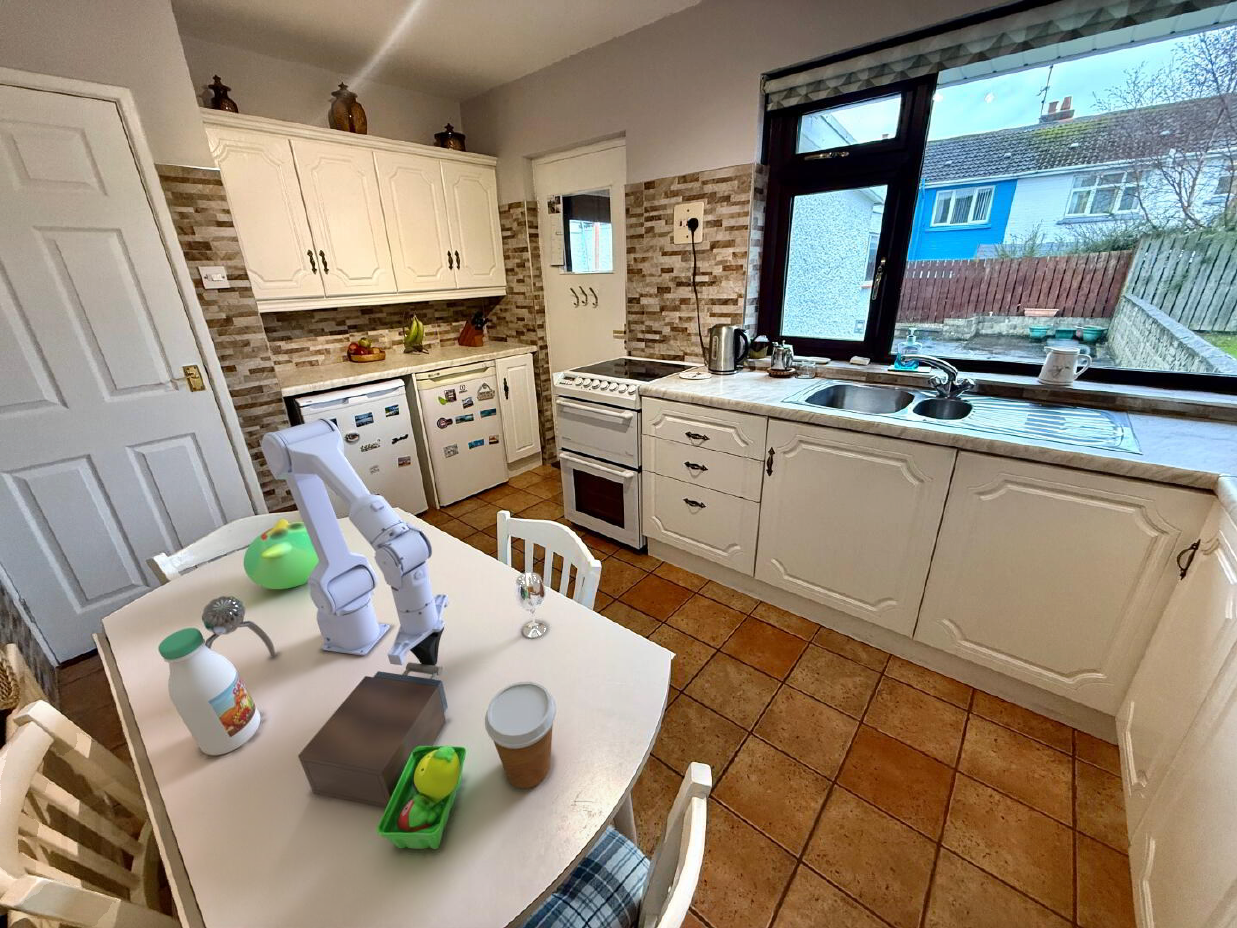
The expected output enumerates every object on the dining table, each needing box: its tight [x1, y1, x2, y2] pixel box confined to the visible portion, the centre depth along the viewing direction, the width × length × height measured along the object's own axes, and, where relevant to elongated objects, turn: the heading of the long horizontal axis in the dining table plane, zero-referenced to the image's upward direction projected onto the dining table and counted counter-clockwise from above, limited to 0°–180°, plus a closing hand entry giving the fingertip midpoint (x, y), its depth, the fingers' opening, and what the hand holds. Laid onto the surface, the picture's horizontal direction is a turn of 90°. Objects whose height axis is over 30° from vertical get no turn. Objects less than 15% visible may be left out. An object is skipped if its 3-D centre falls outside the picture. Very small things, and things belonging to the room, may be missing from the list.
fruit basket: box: [376, 745, 467, 850], centre depth 62 cm, size 11×9×11 cm
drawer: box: [373, 661, 449, 714], centre depth 75 cm, size 17×11×6 cm
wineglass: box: [514, 571, 547, 639], centre depth 94 cm, size 6×6×12 cm
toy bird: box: [243, 518, 319, 590], centre depth 110 cm, size 18×17×15 cm
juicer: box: [201, 595, 276, 657], centre depth 78 cm, size 10×11×30 cm
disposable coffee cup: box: [484, 680, 557, 789], centre depth 68 cm, size 10×10×12 cm
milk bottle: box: [157, 627, 261, 756], centre depth 72 cm, size 8×8×20 cm
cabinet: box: [297, 675, 447, 809], centre depth 71 cm, size 14×13×8 cm
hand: (429, 664), depth 83 cm, fingers closed
